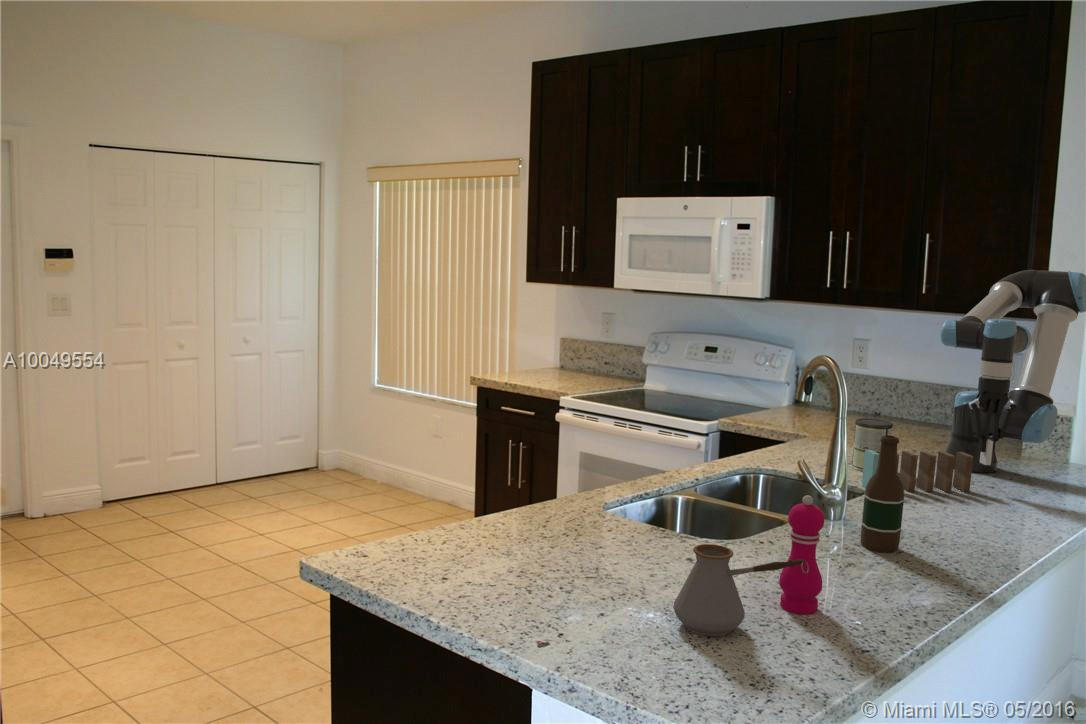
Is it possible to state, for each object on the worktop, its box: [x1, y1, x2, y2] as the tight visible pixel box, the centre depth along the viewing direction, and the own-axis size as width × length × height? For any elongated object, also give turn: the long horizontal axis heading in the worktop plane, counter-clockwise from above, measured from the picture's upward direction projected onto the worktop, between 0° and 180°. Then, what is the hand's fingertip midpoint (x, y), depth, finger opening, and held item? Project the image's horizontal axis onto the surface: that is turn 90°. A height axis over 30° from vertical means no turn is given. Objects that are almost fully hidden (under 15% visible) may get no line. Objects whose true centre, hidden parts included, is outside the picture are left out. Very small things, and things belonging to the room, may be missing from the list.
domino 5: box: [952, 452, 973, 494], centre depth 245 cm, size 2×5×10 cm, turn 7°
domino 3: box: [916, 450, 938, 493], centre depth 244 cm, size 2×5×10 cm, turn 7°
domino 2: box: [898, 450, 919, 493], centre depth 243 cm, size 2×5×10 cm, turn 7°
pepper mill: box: [778, 494, 825, 615], centre depth 157 cm, size 7×7×20 cm
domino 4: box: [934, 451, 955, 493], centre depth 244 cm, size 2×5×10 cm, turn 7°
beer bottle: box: [860, 435, 905, 554], centre depth 192 cm, size 8×8×24 cm
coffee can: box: [851, 417, 894, 473], centre depth 264 cm, size 10×10×14 cm
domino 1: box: [861, 450, 879, 490], centre depth 242 cm, size 2×5×10 cm, turn 7°
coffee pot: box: [672, 543, 809, 637], centre depth 145 cm, size 21×12×15 cm, turn 53°
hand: (985, 463), depth 245 cm, fingers closed
